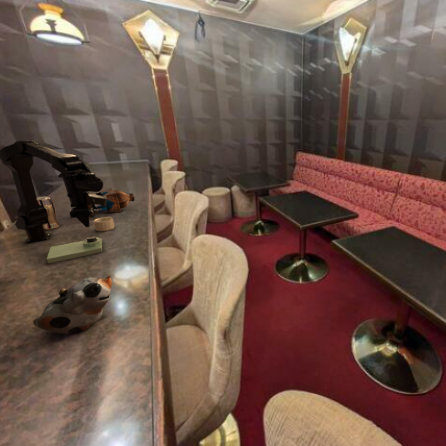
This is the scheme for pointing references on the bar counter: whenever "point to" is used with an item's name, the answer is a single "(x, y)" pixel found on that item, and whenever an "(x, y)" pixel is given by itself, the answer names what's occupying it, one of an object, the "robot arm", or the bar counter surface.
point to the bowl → (104, 223)
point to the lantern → (113, 201)
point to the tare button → (91, 239)
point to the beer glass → (49, 212)
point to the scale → (74, 250)
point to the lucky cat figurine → (76, 306)
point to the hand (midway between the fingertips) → (87, 226)
